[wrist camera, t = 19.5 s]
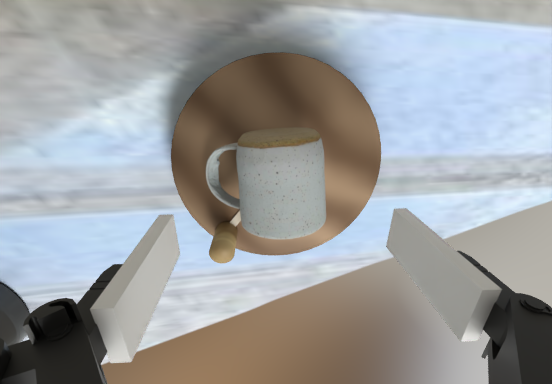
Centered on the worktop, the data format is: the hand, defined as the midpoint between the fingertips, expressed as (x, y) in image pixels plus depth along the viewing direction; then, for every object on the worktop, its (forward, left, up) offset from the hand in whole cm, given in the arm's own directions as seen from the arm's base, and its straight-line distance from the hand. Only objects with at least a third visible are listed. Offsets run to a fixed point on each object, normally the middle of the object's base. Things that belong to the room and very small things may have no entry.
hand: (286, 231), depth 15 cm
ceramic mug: (-1, 0, -11) cm, 12 cm away
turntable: (0, 0, -13) cm, 13 cm away
